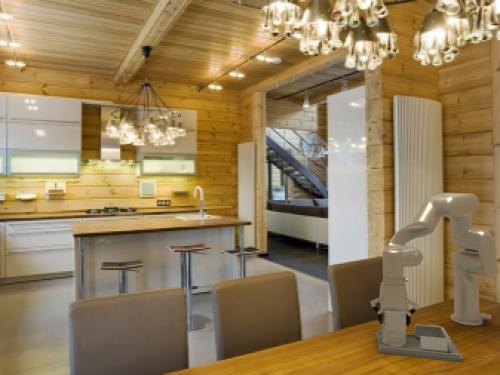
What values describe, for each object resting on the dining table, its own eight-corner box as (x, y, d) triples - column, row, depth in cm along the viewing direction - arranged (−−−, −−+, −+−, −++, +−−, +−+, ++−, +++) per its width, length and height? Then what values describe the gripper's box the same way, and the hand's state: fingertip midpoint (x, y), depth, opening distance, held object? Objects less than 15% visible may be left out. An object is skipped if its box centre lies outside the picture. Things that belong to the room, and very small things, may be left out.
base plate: (451, 342, 142) (451, 337, 142) (463, 362, 126) (463, 356, 126) (376, 334, 149) (376, 330, 149) (378, 352, 134) (378, 347, 134)
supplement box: (400, 337, 143) (400, 305, 143) (406, 345, 136) (406, 312, 136) (381, 336, 144) (381, 305, 144) (386, 344, 137) (385, 311, 137)
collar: (442, 339, 141) (442, 326, 141) (451, 353, 129) (451, 340, 129) (415, 336, 144) (415, 324, 143) (420, 350, 132) (420, 337, 132)
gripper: (416, 279, 141) (416, 322, 141) (369, 276, 146) (370, 318, 146) (419, 284, 134) (420, 330, 134) (370, 282, 138) (371, 326, 139)
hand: (394, 324), depth 140 cm, fingers open, 9 cm apart
